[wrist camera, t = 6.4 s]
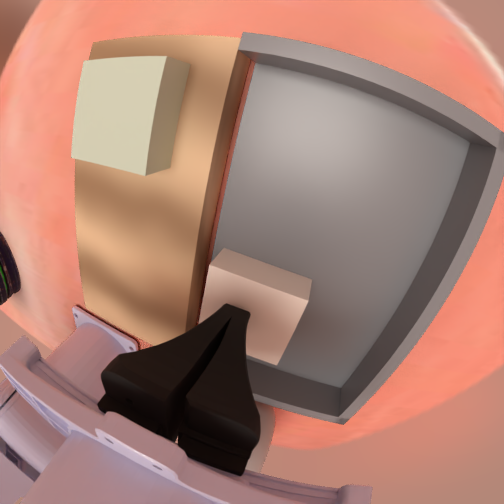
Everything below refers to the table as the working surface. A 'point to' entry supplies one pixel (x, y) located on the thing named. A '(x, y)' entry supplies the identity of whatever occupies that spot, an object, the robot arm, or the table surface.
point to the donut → (262, 437)
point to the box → (353, 212)
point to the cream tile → (257, 300)
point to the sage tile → (129, 112)
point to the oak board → (160, 197)
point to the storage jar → (7, 272)
